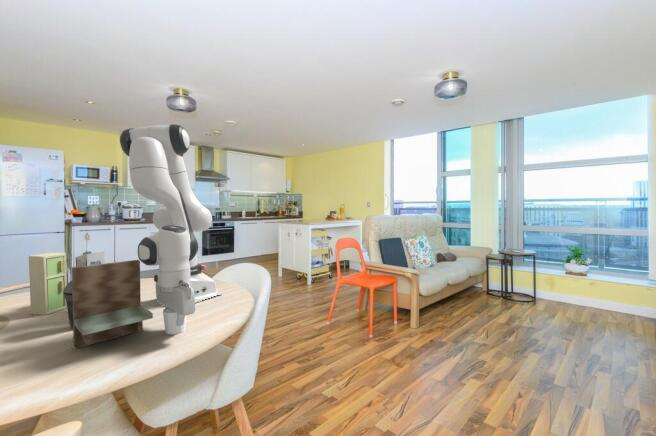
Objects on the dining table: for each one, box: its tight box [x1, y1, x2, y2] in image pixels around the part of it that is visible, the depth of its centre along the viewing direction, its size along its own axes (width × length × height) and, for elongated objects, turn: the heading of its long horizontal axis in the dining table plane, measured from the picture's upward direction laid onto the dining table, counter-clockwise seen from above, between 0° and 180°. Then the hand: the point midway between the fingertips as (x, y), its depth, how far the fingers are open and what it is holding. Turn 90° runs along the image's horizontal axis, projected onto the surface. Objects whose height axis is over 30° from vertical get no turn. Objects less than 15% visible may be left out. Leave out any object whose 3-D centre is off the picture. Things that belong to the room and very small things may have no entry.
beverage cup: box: [64, 265, 83, 331], centre depth 97 cm, size 7×7×20 cm
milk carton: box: [75, 251, 105, 267], centre depth 124 cm, size 7×7×20 cm
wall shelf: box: [71, 259, 154, 349], centre depth 86 cm, size 16×12×22 cm
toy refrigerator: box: [28, 252, 68, 316], centre depth 111 cm, size 8×7×21 cm
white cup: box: [162, 308, 188, 336], centre depth 95 cm, size 7×7×7 cm
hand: (175, 322), depth 95 cm, fingers closed on white cup, 5 cm apart
